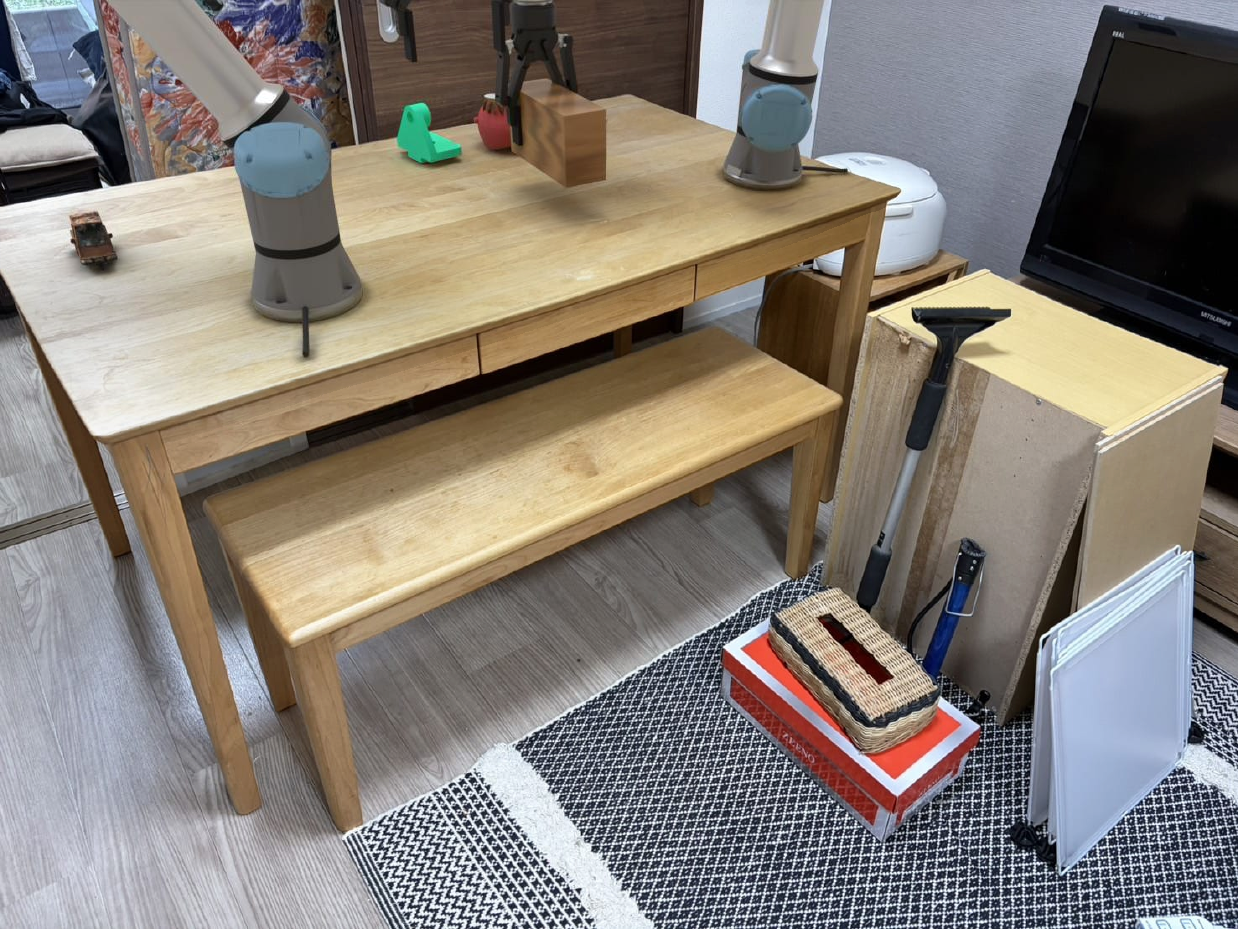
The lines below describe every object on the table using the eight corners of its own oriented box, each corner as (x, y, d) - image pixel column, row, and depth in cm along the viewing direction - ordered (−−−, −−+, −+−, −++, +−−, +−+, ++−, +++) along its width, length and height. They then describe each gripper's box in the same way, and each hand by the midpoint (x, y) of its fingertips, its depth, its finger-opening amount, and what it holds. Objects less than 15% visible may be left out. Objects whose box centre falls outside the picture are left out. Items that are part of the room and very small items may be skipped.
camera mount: (464, 159, 183) (460, 106, 177) (431, 168, 179) (426, 113, 173) (430, 144, 190) (425, 92, 184) (398, 151, 186) (392, 98, 180)
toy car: (108, 240, 149) (95, 198, 145) (131, 265, 142) (117, 222, 137) (65, 249, 146) (50, 207, 141) (86, 276, 138) (71, 232, 134)
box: (606, 180, 158) (606, 108, 151) (566, 188, 155) (564, 115, 147) (549, 144, 173) (546, 78, 166) (511, 151, 169) (507, 83, 162)
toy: (626, 100, 192) (495, 101, 177) (622, 150, 197) (495, 156, 182) (581, 87, 205) (455, 87, 190) (578, 134, 210) (456, 138, 195)
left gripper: (518, -124, 128) (523, 41, 141) (340, -119, 118) (363, 58, 131) (542, -118, 123) (545, 52, 136) (358, -113, 113) (381, 70, 125)
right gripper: (577, -9, 160) (579, 125, 174) (466, 2, 152) (478, 142, 165) (598, -2, 155) (599, 136, 169) (484, 11, 146) (495, 155, 160)
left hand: (456, 55), depth 133 cm, fingers open, 13 cm apart
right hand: (539, 139), depth 167 cm, fingers closed on box, 8 cm apart
